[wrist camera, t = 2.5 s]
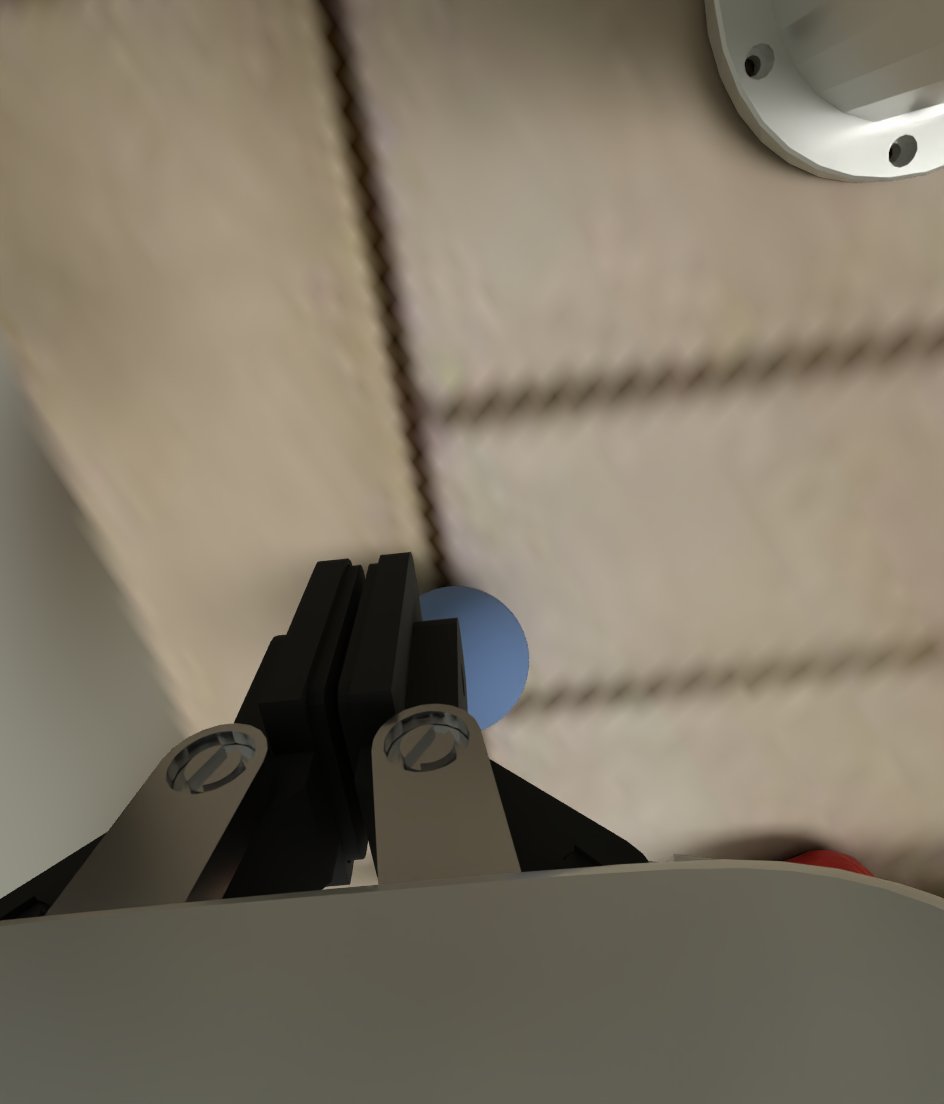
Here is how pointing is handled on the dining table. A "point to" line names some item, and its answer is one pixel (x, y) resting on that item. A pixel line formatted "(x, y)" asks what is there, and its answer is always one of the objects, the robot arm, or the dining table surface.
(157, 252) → the dining table surface
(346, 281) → the dining table surface
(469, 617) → the ball
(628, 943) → the robot arm
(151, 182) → the dining table surface
